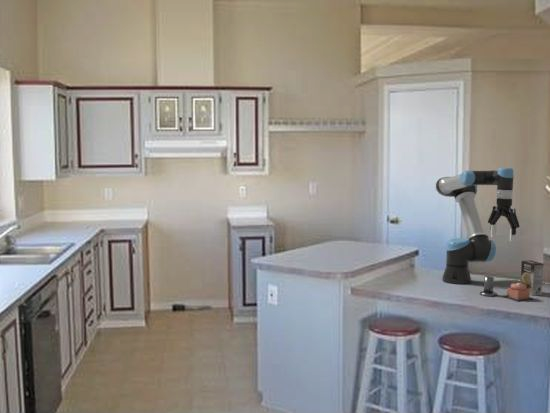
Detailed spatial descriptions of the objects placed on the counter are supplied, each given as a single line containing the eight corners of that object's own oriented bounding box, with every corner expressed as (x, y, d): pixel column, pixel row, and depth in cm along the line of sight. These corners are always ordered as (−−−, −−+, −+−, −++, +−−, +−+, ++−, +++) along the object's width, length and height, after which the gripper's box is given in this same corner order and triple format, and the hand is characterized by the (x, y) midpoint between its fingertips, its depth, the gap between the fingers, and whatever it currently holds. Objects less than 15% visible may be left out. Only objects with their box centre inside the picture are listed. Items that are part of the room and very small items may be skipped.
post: (476, 293, 325) (477, 276, 324) (489, 292, 328) (489, 274, 327) (487, 297, 318) (488, 279, 317) (500, 295, 321) (500, 278, 320)
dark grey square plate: (502, 296, 319) (503, 295, 319) (518, 295, 323) (518, 293, 323) (517, 301, 310) (517, 300, 310) (533, 299, 313) (533, 298, 313)
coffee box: (519, 291, 330) (520, 260, 328) (529, 290, 332) (531, 259, 331) (532, 295, 322) (533, 264, 320) (542, 294, 324) (544, 263, 322)
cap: (507, 295, 318) (507, 282, 317) (518, 294, 321) (519, 281, 320) (517, 299, 311) (518, 285, 311) (529, 298, 314) (529, 284, 313)
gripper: (482, 196, 338) (480, 235, 340) (516, 200, 315) (514, 243, 318) (493, 195, 341) (491, 235, 343) (528, 200, 318) (526, 242, 320)
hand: (502, 239), depth 330 cm, fingers open, 13 cm apart
